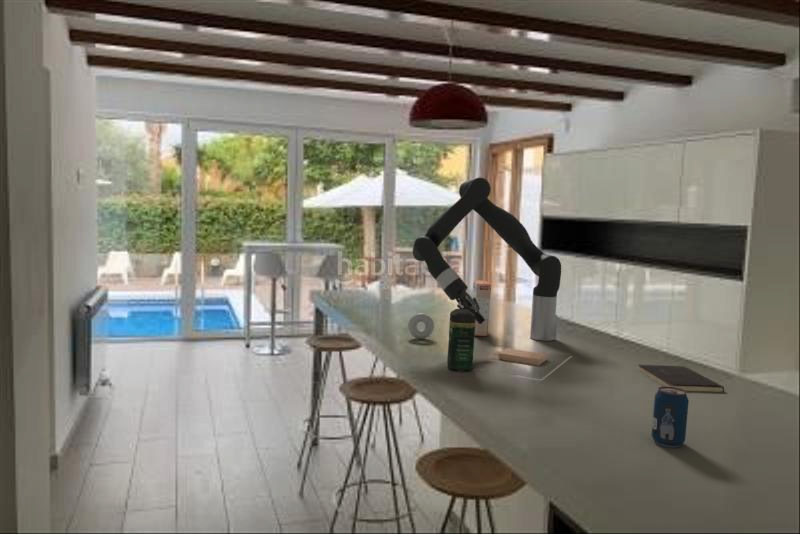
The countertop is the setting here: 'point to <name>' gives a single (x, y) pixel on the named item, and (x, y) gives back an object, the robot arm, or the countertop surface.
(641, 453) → the countertop surface
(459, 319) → the coffee jar
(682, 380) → the hardcover book
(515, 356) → the tile
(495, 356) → the board
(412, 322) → the donut
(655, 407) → the soda can
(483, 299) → the cracker box
